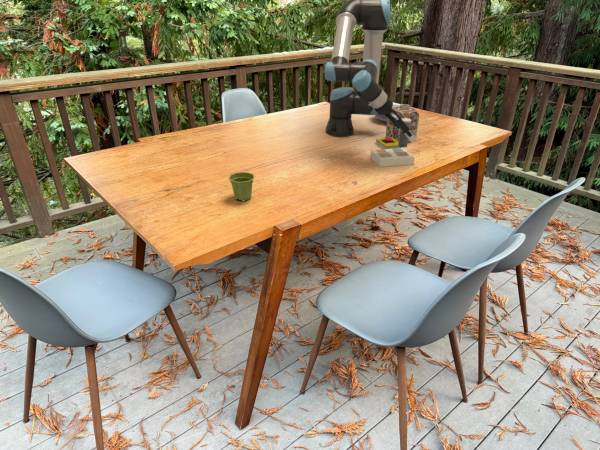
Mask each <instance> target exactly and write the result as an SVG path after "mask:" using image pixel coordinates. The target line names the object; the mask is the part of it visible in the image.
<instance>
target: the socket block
mask: <svg viewBox="0 0 600 450" xmlns="http://www.w3.org/2000/svg"><path fill="white" fill-rule="evenodd" d="M370 158H371V159H372V160H373V162H374V163H375V164H376V165H377V166H378V167H380V168H382V167H384V168H385V167H397V166H398V167H399V166H412V165H413V164H415V159H416V158H415V156H414V155H412V154H411V152H409V151H408V150H406V149H405V147H404V148H403V147H402V148H394V149H381V148H379V149H371V151H370Z"/></svg>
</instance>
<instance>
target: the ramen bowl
mask: <svg viewBox="0 0 600 450" xmlns="http://www.w3.org/2000/svg"><path fill="white" fill-rule="evenodd" d="M401 104H402V103H399V104H397V103H396V104H395V103H393V106H392V109H393V108H395V107H400V105H401ZM374 116H375V118H377V119H378V120H380V121H382V122H384V123H386V124H387V119H388V118H387V117H386V116H385V115H379V114H377V115H374Z"/></svg>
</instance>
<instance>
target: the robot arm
mask: <svg viewBox="0 0 600 450" xmlns="http://www.w3.org/2000/svg"><path fill="white" fill-rule="evenodd" d="M336 13H337V14H336V16H335V17H336V18H335V26H336V30H335V37H334V40H333V41H334V42H333V47H332V53H331V54H332V55H331V61H327V62H325V65H324V79H325V80H326V81H330V82H349V83H350V82H351V84H352V85H353V87H354V88H355V90H354V88H353V87H351V86H343V87H337V88H334V89H332V90H331V92H330V96H329V97H330V98H329V101H330V102H329V116H328V117H329V118H328V120H327V124H326V127H325V133H326V134H327V135H329V136H331V137H338V138H339V137H341V138H342V137H344V138H345V137H351V136H352V135H354V133H355V132H354V129H355V128H354V125H353V120H352V115H360V116H361V115H362V116H375V115H377V114H379V115H385V116H386V117H387V118H388V119H389V120H390V121H391V122H392V123H393V124H394V125H395V126H396V127H397V128H398V129H399V128H400V129H401V130H402V131H403V133H402V134H405V135H406V137H407V138H408V139H409V140H410V141H411V142H410V143H413V142H415V141H416V140H417V139H418V138H417V136H416V137H415V136H414V134H413V133H412V132H411V131H410V129H409V128H408V126H407V125H406V124H405V123H404V122H403V121H402V119H401V118H400V117H399V115H398V114H397V113H396V111H395V110H394V109H392V106H393V104H394V101H392V99H391V98H390V96H388V94H387V93H386V92H385V91H384V89H383V88H381V86H380V85H379V79H380V78H379V77H380V68H381V59H382V50H383V49H382V48H383V38H384V37H383V36H384V33H386V32H387V30H388V27H390V26H391V0H347V1H346V2H344V3H343V5H341V6H340V8H339V10H338V12H336ZM356 26H362V27H361V30H362V32H364V41H363V54H362V61H361V62H360V63H359V62H358V63H357V62H349V61H350V56H351V48H352V41H353V34H354V28H356ZM400 129H399V130H400Z"/></svg>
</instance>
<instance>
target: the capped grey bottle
mask: <svg viewBox="0 0 600 450" xmlns="http://www.w3.org/2000/svg"><path fill="white" fill-rule="evenodd" d="M402 121H403V122H404V123H405V124H406V125H407V126H408V128H409V129H410V124H411V119H409V118H402ZM402 133H403V131H402V130H401V129H400V136H399V143H398V146H399V147H402V148H404V149H405V148H408V144H409V143H408V138H407V137H406V135H405V134H402Z"/></svg>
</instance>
